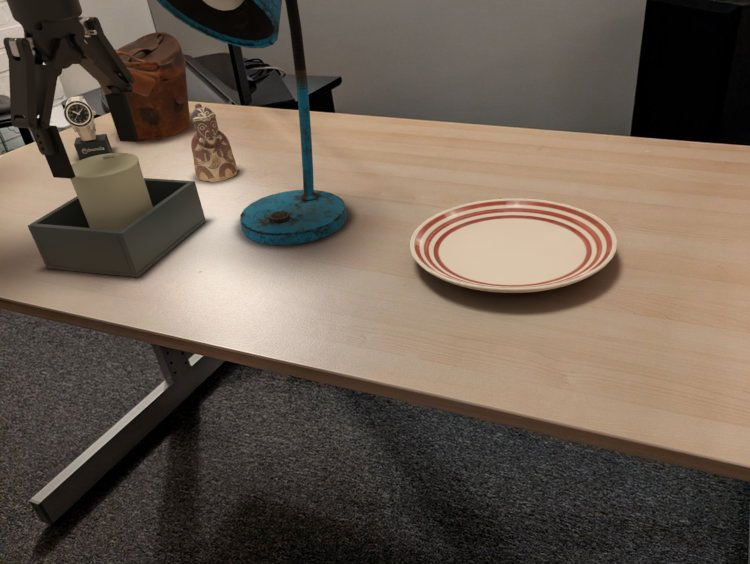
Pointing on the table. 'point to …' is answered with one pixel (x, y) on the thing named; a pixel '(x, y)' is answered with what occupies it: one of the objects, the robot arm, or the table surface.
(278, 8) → the desk lamp
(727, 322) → the table surface
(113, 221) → the can
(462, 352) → the table surface
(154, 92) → the case
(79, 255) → the bus tub
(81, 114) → the watch
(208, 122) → the figurine
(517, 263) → the dinner plate
